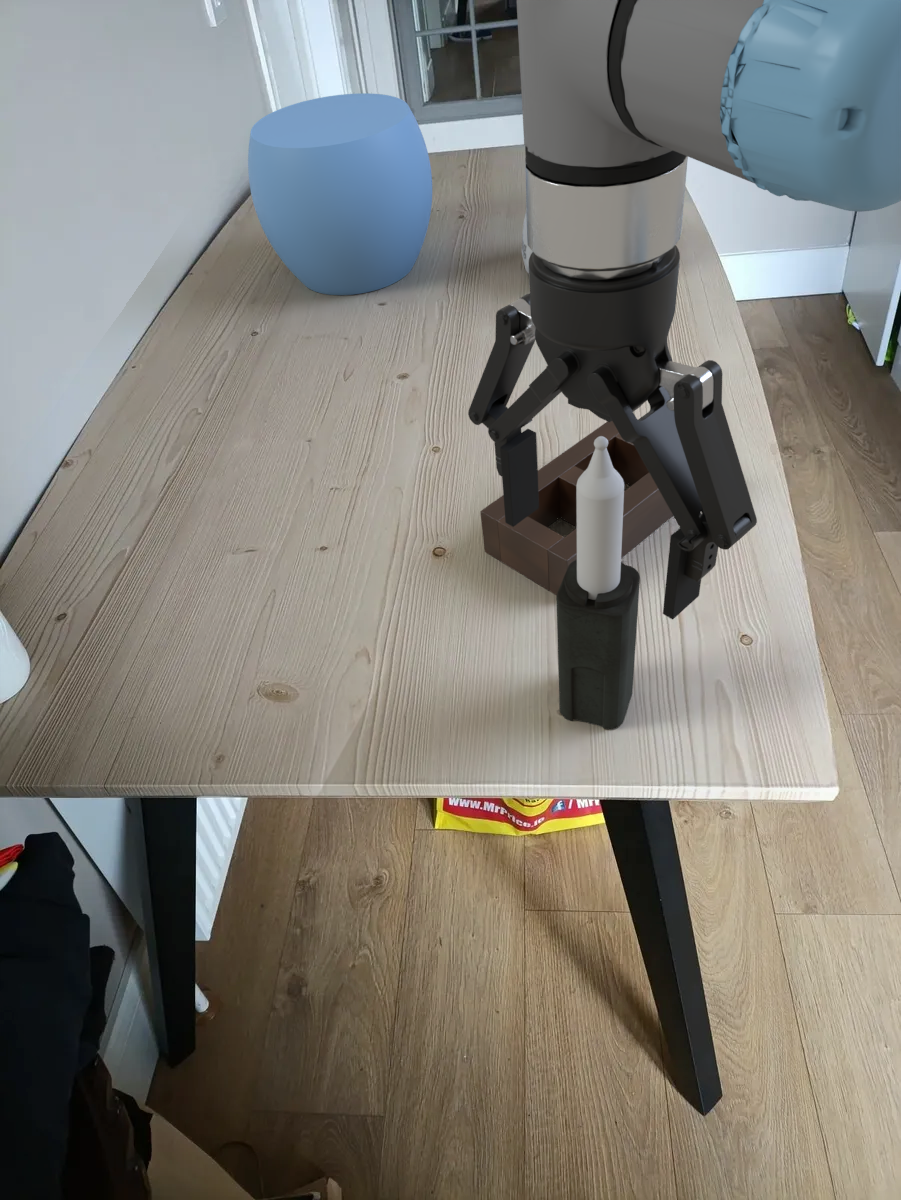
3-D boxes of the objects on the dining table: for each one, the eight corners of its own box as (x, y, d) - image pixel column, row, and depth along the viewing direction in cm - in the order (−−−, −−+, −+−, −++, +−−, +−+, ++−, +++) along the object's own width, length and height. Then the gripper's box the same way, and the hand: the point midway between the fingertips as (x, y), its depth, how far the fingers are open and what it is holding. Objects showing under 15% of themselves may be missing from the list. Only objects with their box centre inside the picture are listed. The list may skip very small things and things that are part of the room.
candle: (635, 683, 70) (653, 418, 53) (620, 732, 67) (634, 469, 49) (573, 669, 72) (571, 408, 54) (555, 717, 69) (547, 456, 51)
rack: (694, 498, 85) (699, 456, 82) (567, 602, 77) (566, 561, 74) (610, 459, 91) (611, 418, 88) (484, 551, 83) (480, 511, 80)
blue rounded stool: (429, 304, 120) (408, 145, 105) (255, 312, 124) (211, 160, 109) (450, 227, 137) (434, 82, 123) (296, 237, 141) (264, 97, 127)
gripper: (881, 283, 38) (795, 615, 54) (480, 171, 52) (501, 460, 67) (786, 356, 35) (723, 687, 50) (385, 216, 49) (430, 508, 64)
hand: (596, 557), depth 59 cm, fingers open, 13 cm apart
